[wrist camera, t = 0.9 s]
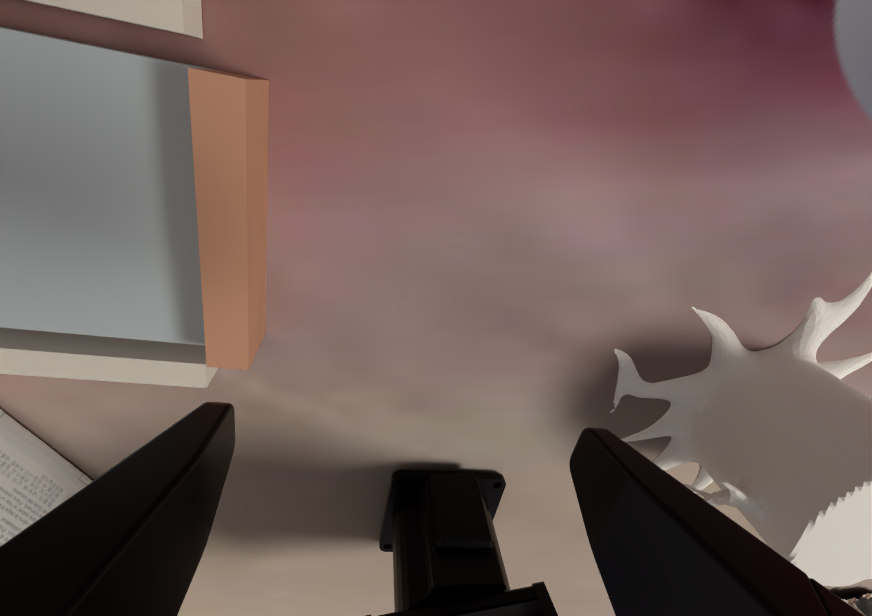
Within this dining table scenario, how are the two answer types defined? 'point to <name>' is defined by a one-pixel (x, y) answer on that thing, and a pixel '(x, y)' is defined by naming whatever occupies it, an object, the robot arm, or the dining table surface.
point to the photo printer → (31, 478)
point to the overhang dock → (97, 355)
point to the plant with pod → (862, 604)
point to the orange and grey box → (132, 197)
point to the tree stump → (777, 440)
